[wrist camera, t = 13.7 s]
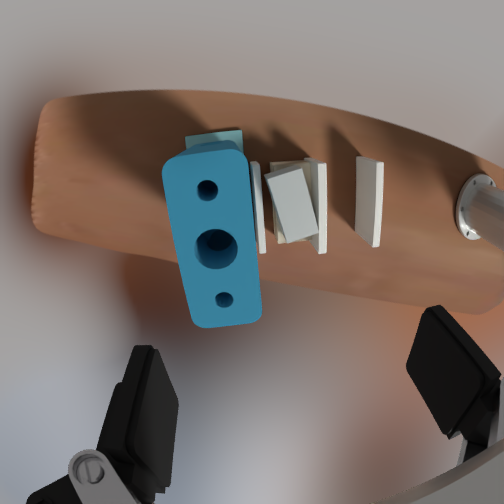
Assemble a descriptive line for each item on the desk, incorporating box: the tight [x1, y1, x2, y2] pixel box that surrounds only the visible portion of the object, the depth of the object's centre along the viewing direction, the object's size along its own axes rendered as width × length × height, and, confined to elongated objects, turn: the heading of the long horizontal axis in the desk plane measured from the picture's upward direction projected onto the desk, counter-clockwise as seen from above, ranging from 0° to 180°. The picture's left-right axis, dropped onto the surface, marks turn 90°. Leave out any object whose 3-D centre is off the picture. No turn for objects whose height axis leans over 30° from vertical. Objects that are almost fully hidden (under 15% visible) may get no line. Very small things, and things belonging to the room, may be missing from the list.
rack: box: [250, 156, 384, 254], centre depth 36 cm, size 16×11×6 cm
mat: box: [185, 130, 244, 154], centre depth 36 cm, size 7×13×1 cm, turn 5°
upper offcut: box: [264, 165, 319, 243], centre depth 34 cm, size 4×8×3 cm, turn 18°
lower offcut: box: [270, 160, 312, 244], centre depth 37 cm, size 4×10×4 cm, turn 5°
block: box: [162, 140, 262, 328], centre depth 27 cm, size 12×5×20 cm, turn 5°
